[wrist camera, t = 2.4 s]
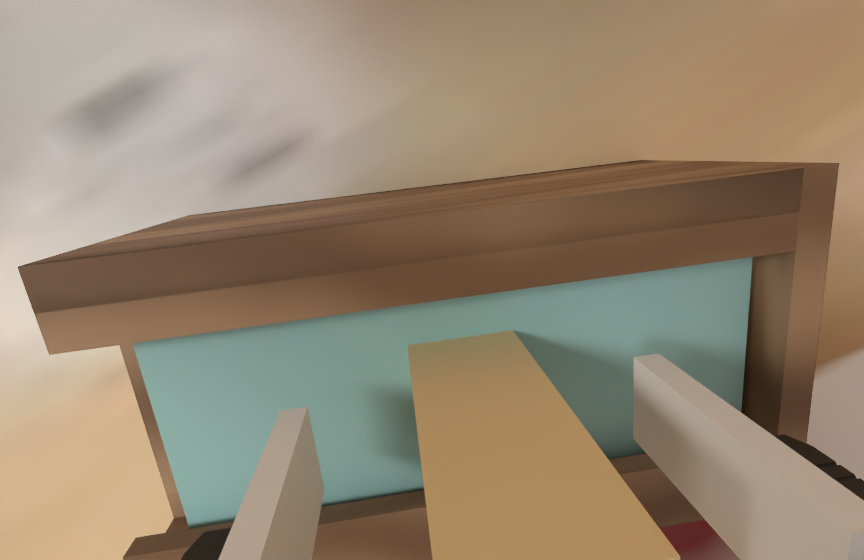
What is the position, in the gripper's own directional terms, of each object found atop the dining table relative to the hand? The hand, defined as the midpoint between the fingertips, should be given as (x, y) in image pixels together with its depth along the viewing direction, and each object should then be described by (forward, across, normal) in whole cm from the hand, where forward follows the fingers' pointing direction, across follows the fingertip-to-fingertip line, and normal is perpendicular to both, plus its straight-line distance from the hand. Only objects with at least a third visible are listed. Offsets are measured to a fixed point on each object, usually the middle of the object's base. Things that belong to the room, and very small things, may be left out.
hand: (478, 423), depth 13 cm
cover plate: (+4, 0, 0) cm, 4 cm away
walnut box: (+12, 0, 0) cm, 12 cm away
